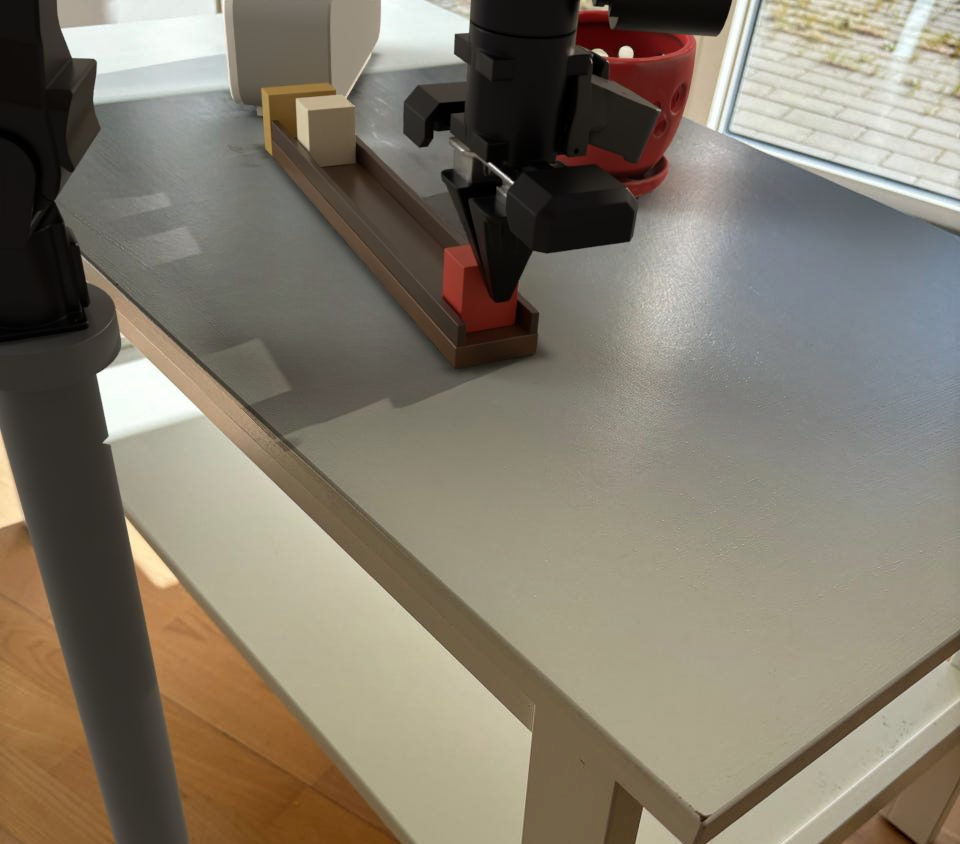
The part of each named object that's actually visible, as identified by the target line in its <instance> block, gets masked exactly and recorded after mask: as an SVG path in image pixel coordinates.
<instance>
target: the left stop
mask: <svg viewBox="0 0 960 844" xmlns="http://www.w3.org/2000/svg"><path fill="white" fill-rule="evenodd" d="M261 92H262V107H263V116H262V121H263V122H262V123H263V134H264V135H263V136H264V149H265V150H266V151H267V152H268V154H269V155H270V156H271V157H272V158H273V156H272V141H271V140H272V139H273V138H272V124H271V121H274V120H278V121H279V122H280V123H281V124H282V125H283V126H284V128H285V129H286V130H287V131H288V132H289V133H290V134H291V135H292V136H293V137H298V136H297V115H296V98H306V97H318V96H330V95H336V90H335V89H334V88H333V87H332V86H331V85H330V84H329V83H318V84H305V85H292V86H279V87H266V88H261Z"/></svg>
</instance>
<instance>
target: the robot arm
mask: <svg viewBox="0 0 960 844" xmlns="http://www.w3.org/2000/svg"><path fill="white" fill-rule="evenodd" d="M591 3H592V7H594V8H604V7H605V6H607V10H608V17H609V22H610V28H611V29H612V30H625V31H640V32H654V33H669V34H684V35H693V36H700V37H714V38H715V37H716V38H717V37H718V36H719V35H720V34H721V33H722V31H723V29H724V27H725V26H726V22H727V20H728V17H729V14H730V10H731V8H732V5H733V4H732V3H733V0H591ZM469 5H470V8H469V25H468V32H461V33H454V39H453V55H455V56H456V57H457V58H458V59H460V60H461V61H462V62H464V63H465V64H466V77H465V78H466V79H465V81H453V82H440V83H425V84H417V85H416V86H415V87H414V89H413V90H412V91H411V92H410V94H409V95H408V96H407V97H406V99H404V100H403V114H402V116H403V117H402V118H403V119H402V135H404V136H405V137H406V138H408V139H409V141H411V143H412V144H414V145H415V146H416V147H417V148H419V149H421V148H428V147H430V145H431V143H432V142H433V140H434V136H435V135H434V132H437V133H438V132H449V133H450V134H451V135H452V136H450V137H449V139H448V144H449V145H450V146H451V148H453V159H452V160H453V162H452V163H453V164H452V168H446V169H443V170H441V171H440V178H441V181H442V183H443V184H444V185H445V187H446V189H447V192H448V193H449V197H450V199H451V201H452V204H453V206H454V209H455V211H456V213H457V216H458V218H459V221H460V223H461V225H462V229H463V231H464V233H465V236H466V239H467V241H468V244H469V245H470V246H471V249H472V252H473V254H474V257H475V260H476V262H477V265H478V268H479V270H480V273H481V276H482V278H483V281H484V284H485V286H486V289H487V292H488V295H489V297H490V298H491V299H492V300H493V301H494V302H495V303H501V302H507V301H509V300H510V299H511V297H512V295H513V293H514V291H515V288H516V286H517V284H518V282H519V283H520V279H521V278H522V276H523V273H524V271H525V270H526V267H527V265H528V262H529V260H530V258H531V256H532V254H533V252H536V253H542V254H555V253H561V252H570V251H577V250H582V249H590V248H597V247H604V246H610V245H617V244H618V245H619V244H625V243H630V242H631V241H632V240H633V237H634V234H635V228H636V222H637V216H638V210H639V204H640V202H639V200H638V199H637V197H634V196H633V194H632V193H631V192H630V190H629V189H628V188H627V187H626V186H625V185H624V184H622V183H621V182H619V181H618V180H617V179H615V178H614V177H613V176H611V175H610V174H609V173H607V172H606V171H605V170H603V169H602V168H600V167H599V166H598V165H596V164H588V165H579V166H570V167H569V166H568V165H566V164H565V163H564V162H562V161H560V160H556V157H557V155H565V156H567V157H569V158H570V157H579V156H586V154H587V147H588V144H590V145H592V146H595V147H598V148H601V149H603V150H606V151H609V152H612V153H615V154H618V155H621V156H623V159H624V160H625V161H626V162H629V163H632V164H638V162H639V159H640V157H641V155H642V153H643V151H644V148H645V146H646V144H647V142H648V139H649V137H650V135H651V133H652V131H653V128H654V126H655V124H656V122H657V119H658V117H659V115H660V113H661V109H659V108H658V107H656V106H655V105H653V104H651V103H650V102H648V101H647V100H645V99H644V98H642V97H640V96H639V95H637V94H636V93H634V92H632V91H631V90H629V89H627V88H625V87H623V86H621V85H619V84H618V83H616V82H615V81H612V80H609V61H608V60H607V59H605V58H604V57H602V56H603V55H600V54H599V53H597V52H595V51H594V50H592V51H591V50H589V49H586V48H584V47H581V46H579V45H577V46H576V45H575V43H576V34H577V24H578V16H579V11H580V7H581V0H470V4H469ZM97 73H98V62H97V60H96V59H95V58H91V57H90V58H89V57H88V58H87V57H86V58H85V57H73V56H72V54H71V51H70V49H69V46H68V44H67V41H66V38H65V37H64V33H63V31H62V28H61V25H60V20H59V13H58V0H0V343H1V342H7V341H14V340H21V339H27V338H34V337H41V336H47V335H54V334H61V333H67V332H74V331H81V330H86V329H88V328H89V327H90V325H89V320H88V317H87V315H86V313H85V310H84V308H85V307H88V306H89V305H90V298H89V293H88V288H87V283H86V282H87V279H86V273H85V268H84V263H83V257H82V253H81V247H80V243H79V242H78V239H77V237H76V235H75V233H74V231H73V229H72V228H71V227H69V226H68V225H66V223H65V220H64V217H63V215H62V212H61V210H60V209H59V206H58V205H57V203H56V199H57V198H58V197H59V195H60V194H61V193H62V190H63V189H64V187H65V186H66V184H67V183H68V181H69V179H70V178H71V176H72V175H73V173H74V172H75V170H76V169H77V168H78V166H79V165H80V163H81V161H82V159H83V158H84V156H85V155H86V154H87V152H88V150H89V149H90V148H91V145H92V144H93V142H94V140H95V139H96V138H97V136H98V134H99V133H100V132H101V129H102V127H101V125H100V122H99V119H98V117H97V114H96V109H95V103H94V95H95V94H94V93H95V88H96V87H95V86H96V79H97Z"/></svg>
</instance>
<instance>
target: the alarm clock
mask: <svg viewBox="0 0 960 844" xmlns="http://www.w3.org/2000/svg"><path fill="white" fill-rule="evenodd" d="M222 19H223V20H222V21H223V31H224V33H223V34H224V40H225V41H224V42H225V43H224V44H225V54H226V64H227V78H228V87H229V92H230V95H231V98H232V100H233V101H234V102H235V103H236V104H237V105H247V106H256V116H258V117H263V107H262V92H261V88H266V87H279V86H292V85H305V84H318V83H329V84H330V85H331V86H332V87H333V88H334V89H335V90H336V95H343V96H344V97H345V98H346V99H348V97H349V95H350V93H351V91H352V89H354V86H355V84H356V83H357V81H358V79H359V78H360V76H361V75H362V72H363V71H364V69H365V67H366V65H368V63H369V61H370V58H371V57H372V51H373V50H374V48H375V46H376V44H377V43H378V41H379V38H380V31H381V23H382V22H381V21H382V0H222Z"/></svg>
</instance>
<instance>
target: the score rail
mask: <svg viewBox="0 0 960 844" xmlns="http://www.w3.org/2000/svg"><path fill="white" fill-rule="evenodd" d="M271 124H272V138H273V139H272V140H271V141H272V156H273V157H272V156H271V157H272V158H273V159H274V160H275V161H276V163H277V164H278V165H279V166H280V167H281V168H282V170H283V171H284V172H285V173H286V174H287V175H288V176H289V177H290V179H291V180H292V181H293V183H295V185H297V187H298V188H299V189H300V191H301V192H302V193H303V194H304V195H305V196H306V197H307V198H308V200H309V201H310V202H311V204H313V206H314V207H315V208H316V209H317V210H318V211H319V212H320V214H321V215H322V216H323V217H324V218H325V219H326V221H327V222H328V223H329V224H330V226H331V227H332V228H333V229H334V230H335V231H336V232H337V233H338V235H339V236H340V237H341V238H342V239H343V240H344V242H345V243H346V244H347V245H348V246H349V247H350V248H351V250H352V251H353V252H354V253H355V254H356V255H357V257H358V258H359V259H360V260H361V261H362V263H363V264H364V265H365V266H366V267H367V268H368V270H369V271H370V272H371V273H372V274H373V275H374V276H375V278H376V279H377V280H378V281H379V282H380V283H381V285H382V286H383V287H384V288H385V290H386V291H388V293H389V294H390V295H391V296H392V298H393V299H394V300H395V301H396V302H397V303H398V304H399V306H401V308H402V309H403V310H404V311H405V313H406V314H407V315H408V316H409V318H411V319H412V320H413V322H414V323H415V324H416V325H417V327H418V328H419V329H420V330H421V331H422V332H423V333H424V334H425V336H426V337H427V338H428V339H429V341H431V343H432V344H433V345H434V346H435V347H436V349H438V351H439V352H440V353H441V354H442V356H444V357H445V359H446V360H447V362H449V363H450V365H451V366H452V367H453V368H454V369H459V368H465V367H470V366H476V365H481V364H487V363H493V362H497V361H503V360H509V359H513V358H514V359H515V358H521V357H524V356H529V355H536V354H537V350H538V342H539V333H538V331H539V322H540V311H539V310H538V309H537V308H536V307H535V306H534V305H532V304H531V302H530V301H528V299H526V298H525V297H524V295H522V294H521V293H520V292H519V291H518V295H517V306H516V317H515V325H510V326H504V327H498V328H493V329H487V330H481V331H475V332H469V333H466V328H467V325H466V323H465V322H464V321H463V320H462V319H461V318H460V317H459V316H458V315H457V314H456V313H455V311H454V310H453V309H452V308H451V307H450V306H449V305H448V304H447V303H446V302H445V301H444V300H443V299H442V296H443V273H444V251H445V248H450V247H457V246H465V245H470V244H469V242H467V240H466V239H464V238H463V236H462V235H461V234H460V233H458V232H457V231H456V230H455V229H454V228H453V227H452V226H451V225H450V223H448V222H447V221H446V220H445V219H444V218H443V217H442V216H441V215H440V214H439V213H438V212H436V210H435V209H433V208H432V207H431V205H429V204H428V203H427V202H426V201H425V200H424V199H423V198H422V197H421V196H420V195H419V194H418V193H417V192H416V191H415V190H414V189H413V188H412V187H411V186H410V185H409V184H408V183H406V181H404V179H402V178H401V177H400V175H398V174H397V173H396V172H395V171H394V170H393V168H391V167H390V166H389V165H388V164H387V163H386V162H385V161H384V160H383V159H382V158H381V157H379V155H378V154H377V153H376V152H375V151H374V150H372V148H370V146H369V145H367V144H366V142H364V141H363V140H362V139H361V138H360V137H359V136H358V134H356V133H355V142H356V163H355V164H345V165H336V166H327V167H320V165H319V164H318V163H317V162H316V161H315V160H314V159H313V158H312V157H311V156H310V155H309V154H308V152H307V151H306V150H305V149H304V148H303V147H302V146H301V145H300V144H299V143H298V137H293V136H292V135H291V134H290V133H289V132H288V131H287V130H286V129H285V128H284V126H283V125H282V124H281V123H280V122H279V121H278V120H274V121H271Z"/></svg>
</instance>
